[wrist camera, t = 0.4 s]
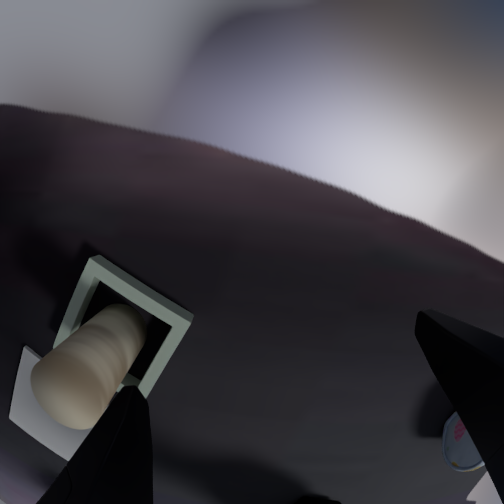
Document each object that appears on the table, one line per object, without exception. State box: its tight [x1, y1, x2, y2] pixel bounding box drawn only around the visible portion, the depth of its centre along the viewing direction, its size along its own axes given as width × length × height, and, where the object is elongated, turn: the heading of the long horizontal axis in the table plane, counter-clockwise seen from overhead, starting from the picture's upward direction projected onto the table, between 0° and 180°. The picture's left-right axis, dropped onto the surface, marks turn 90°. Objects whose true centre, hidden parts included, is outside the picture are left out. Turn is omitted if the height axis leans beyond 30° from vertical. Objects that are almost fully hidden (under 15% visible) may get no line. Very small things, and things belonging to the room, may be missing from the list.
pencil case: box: [442, 412, 485, 471], centre depth 24 cm, size 21×9×10 cm, turn 68°
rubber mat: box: [9, 345, 110, 461], centre depth 24 cm, size 12×12×1 cm
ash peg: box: [30, 303, 147, 430], centre depth 18 cm, size 4×4×11 cm
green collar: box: [53, 255, 194, 399], centre depth 23 cm, size 9×9×2 cm
